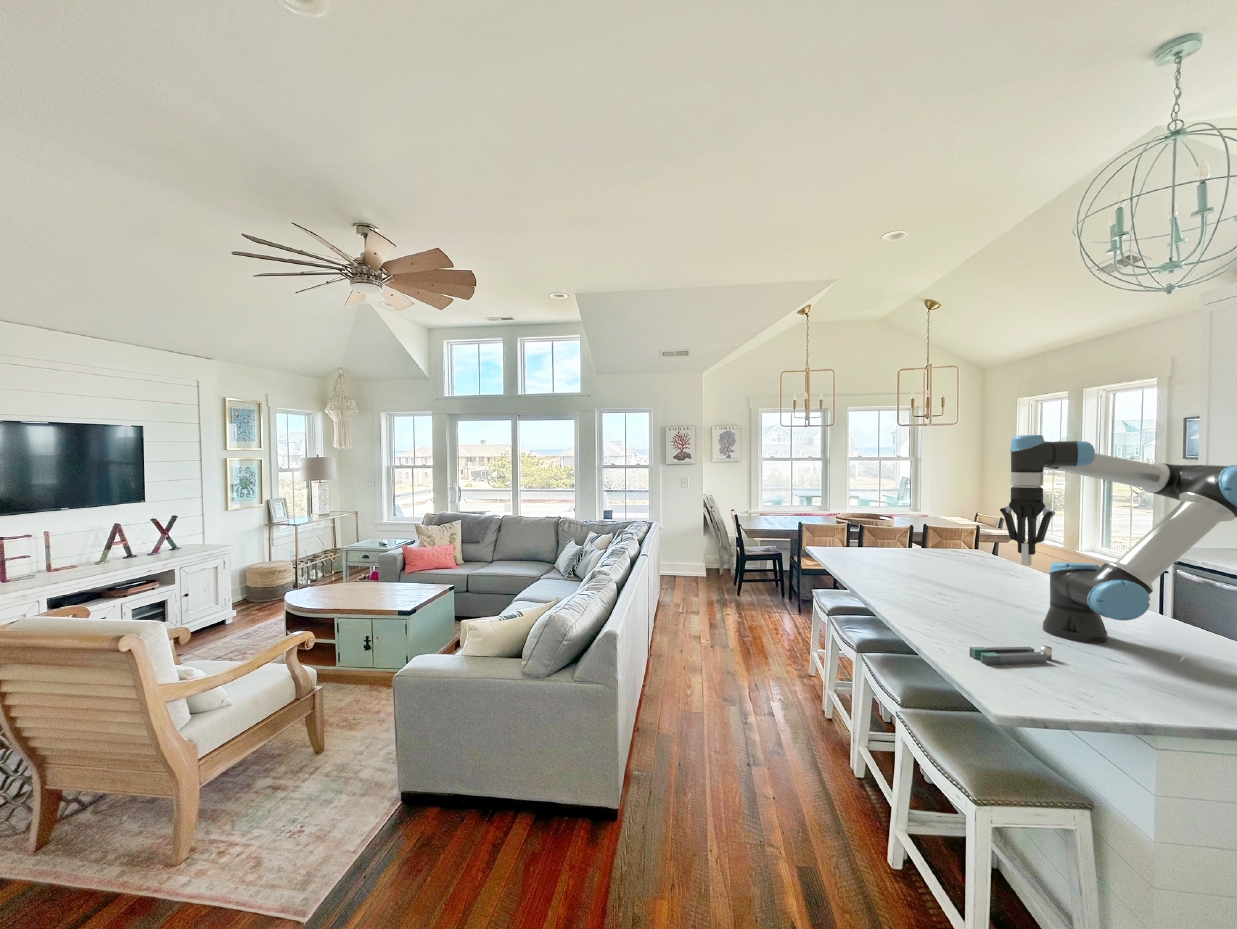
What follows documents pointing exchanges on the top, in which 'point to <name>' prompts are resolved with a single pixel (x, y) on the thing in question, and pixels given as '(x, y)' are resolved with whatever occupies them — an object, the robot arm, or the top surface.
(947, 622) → the top surface
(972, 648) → the arm
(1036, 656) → the tongs free arm
